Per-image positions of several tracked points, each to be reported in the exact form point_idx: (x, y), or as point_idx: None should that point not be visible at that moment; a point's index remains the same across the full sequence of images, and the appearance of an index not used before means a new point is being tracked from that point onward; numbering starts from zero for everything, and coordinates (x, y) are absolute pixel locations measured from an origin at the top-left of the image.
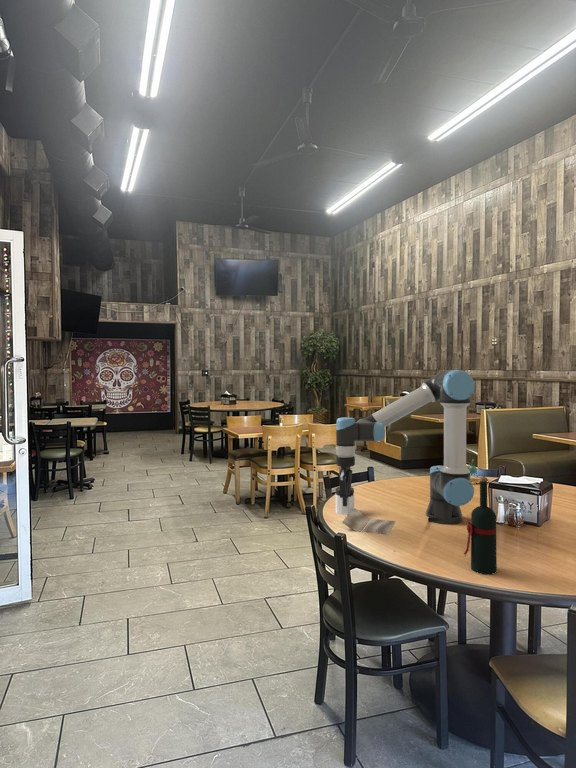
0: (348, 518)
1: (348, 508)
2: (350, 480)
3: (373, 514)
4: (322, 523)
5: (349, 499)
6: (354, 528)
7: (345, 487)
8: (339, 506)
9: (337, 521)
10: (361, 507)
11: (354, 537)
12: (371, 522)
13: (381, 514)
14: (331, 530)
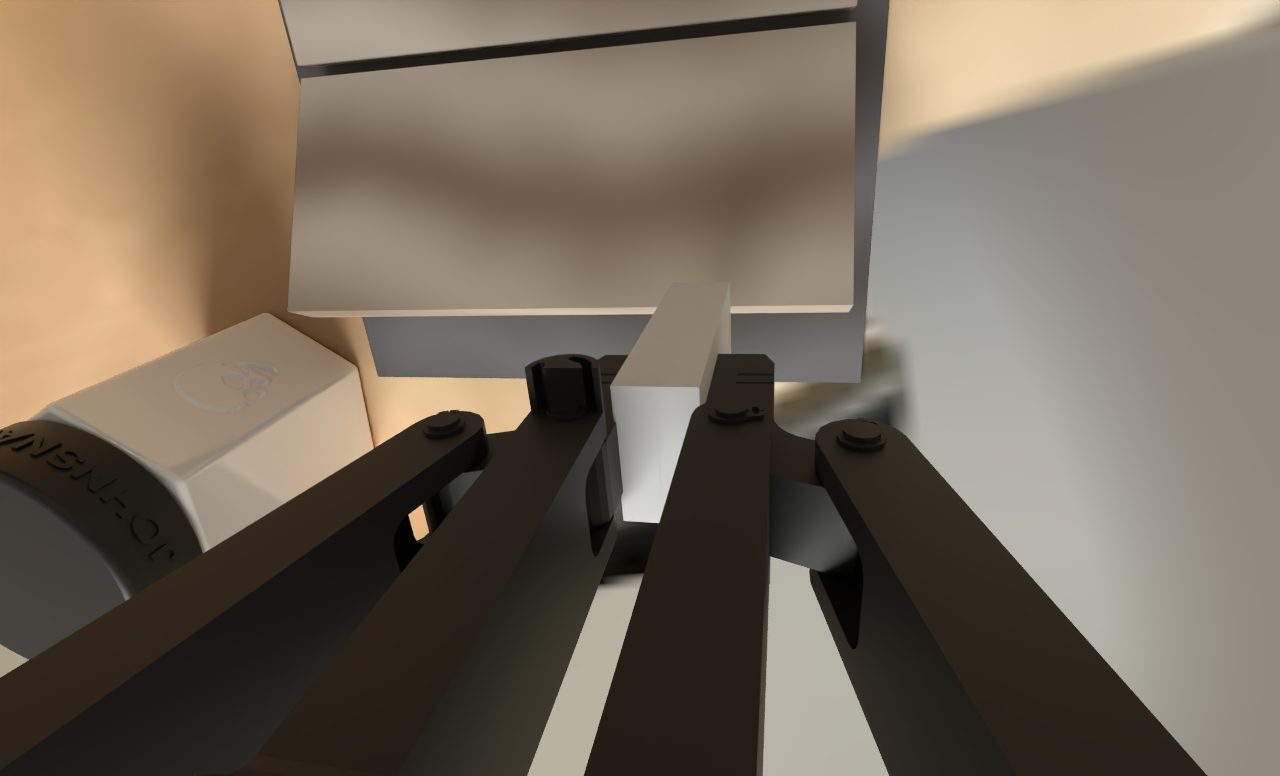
0: (689, 273)
1: (714, 308)
2: (123, 695)
3: (99, 136)
4: (618, 523)
5: (170, 431)
6: (854, 122)
7: (1125, 698)
8: (305, 488)
9: (500, 417)
10: (16, 318)
11: (964, 81)
12: (430, 13)
13: (37, 45)
14: (789, 402)
